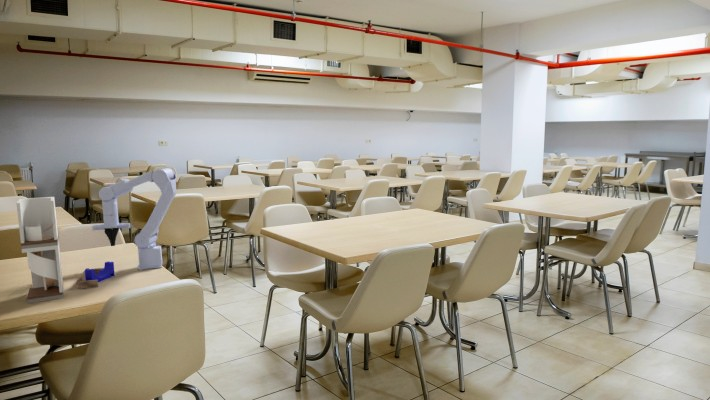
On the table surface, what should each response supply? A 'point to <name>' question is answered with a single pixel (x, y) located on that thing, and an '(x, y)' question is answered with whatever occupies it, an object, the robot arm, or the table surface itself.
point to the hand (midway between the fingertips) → (113, 245)
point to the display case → (41, 247)
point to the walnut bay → (90, 283)
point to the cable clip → (101, 273)
